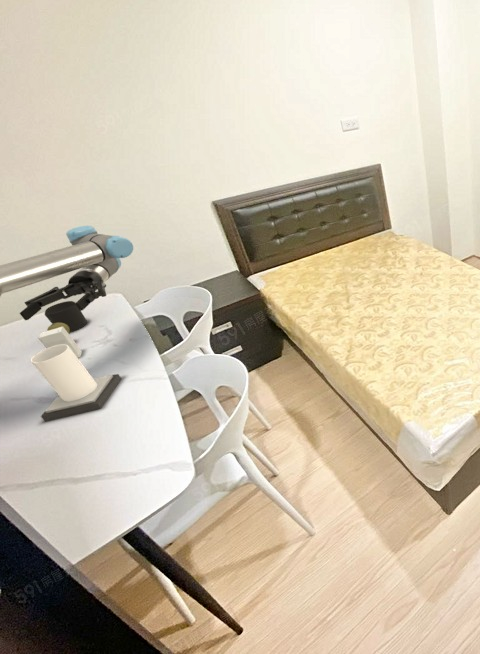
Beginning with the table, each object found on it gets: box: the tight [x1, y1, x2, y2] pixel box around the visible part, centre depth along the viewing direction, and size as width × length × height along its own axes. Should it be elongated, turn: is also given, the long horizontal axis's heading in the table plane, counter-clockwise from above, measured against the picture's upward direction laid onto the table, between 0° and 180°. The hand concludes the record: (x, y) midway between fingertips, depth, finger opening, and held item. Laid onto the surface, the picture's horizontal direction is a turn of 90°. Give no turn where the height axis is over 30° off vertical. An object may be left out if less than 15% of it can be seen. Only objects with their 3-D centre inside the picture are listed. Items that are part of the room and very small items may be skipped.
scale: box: [40, 373, 123, 422], centre depth 126 cm, size 14×14×3 cm
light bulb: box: [46, 323, 70, 335], centre depth 150 cm, size 6×6×10 cm
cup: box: [30, 344, 97, 402], centre depth 122 cm, size 8×8×16 cm
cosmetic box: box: [37, 327, 83, 359], centre depth 143 cm, size 6×4×12 cm
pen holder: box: [44, 300, 88, 334], centre depth 160 cm, size 9×9×10 cm
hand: (51, 311), depth 121 cm, fingers open, 13 cm apart
